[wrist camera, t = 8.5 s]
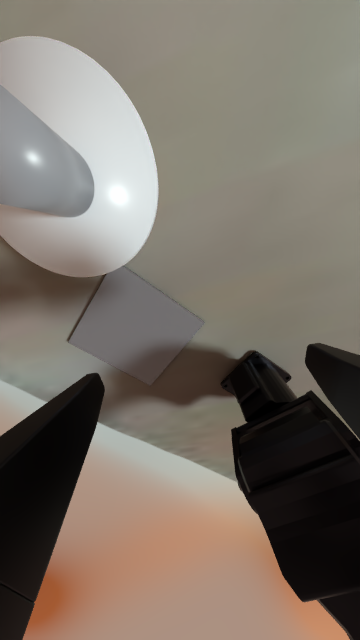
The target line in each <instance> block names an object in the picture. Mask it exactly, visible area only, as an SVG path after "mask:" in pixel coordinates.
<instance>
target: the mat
mask: <svg viewBox="0 0 360 640" xmlns="http://www.w3.org/2000/svg"><path fill="white" fill-rule="evenodd" d="M204 323H205V322H204V321H203V320H202V319H200V318H199V317H197V316H196V315H194V314H193V313H191V312H190V311H189V310H187V309H186V308H184V307H183V306H181V305H180V304H178V303H177V302H176V301H174V300H173V299H171V298H170V297H168V296H167V295H165V294H164V293H163V292H161V291H160V290H158V289H157V288H155V287H154V286H152V285H151V284H150V283H148V282H147V281H145V280H144V279H142V278H141V277H139V276H138V275H137V274H135V273H134V272H132V271H131V270H129V269H128V268H126V267H125V266H124V265H123V266H121V267H120V268H118V269H116V270H114V271H112V272H109V273H107V274H106V276H105V278H104V280H103V282H102V283H101V285H100V287H99V289H98V290H97V292H96V294H95V296H94V297H93V299H92V301H91V303H90V305H89V306H88V308H87V310H86V312H85V313H84V315H83V317H82V319H81V320H80V322H79V324H78V326H77V328H76V329H75V331H74V333H73V335H72V336H71V338H70V340H69V342H68V343H70V344H72V345H74V346H76V347H78V348H79V349H81V350H83V351H85V352H87V353H89V354H91V355H93V356H95V357H97V358H98V359H100V360H102V361H104V362H106V363H108V364H110V365H112V366H114V367H116V368H117V369H119V370H121V371H123V372H125V373H127V374H129V375H131V376H133V377H135V378H136V379H138V380H140V381H142V382H144V383H146V384H148V385H150V386H151V384H152V383H153V382H154V381H155V380H156V379H157V377H158V376H159V375H160V374H161V373H162V372H163V371H164V369H165V368H166V367H167V366H168V365H169V364H170V362H171V361H172V360H173V359H174V358H175V357H176V356H177V354H178V353H179V352H180V351H181V350H182V349H183V347H184V346H185V345H186V344H187V343H188V342H189V341H190V339H191V338H192V337H193V336H194V335H195V334H196V332H197V331H198V330H199V329H200V328H201V327H202V326H203V324H204Z"/></svg>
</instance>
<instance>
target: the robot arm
mask: <svg viewBox="0 0 360 640" xmlns="http://www.w3.org/2000/svg"><path fill="white" fill-rule="evenodd" d="M256 355H257V356H256ZM255 356H256V357H255ZM305 364H306V366H307V368H308V369H309V371H310V372H311V374H312V376H313V377H314V379H315V380H316V382H317V383H318V385H319V386H320V388H321V389H322V391H323V393H324V394H325V395H326V397H327V398H328V400H329V401H330V402H331V404H332V405H333V406H334V408H335V409H336V410H337V411H338V413H339V414H340V415H341V416H342V418H343V419H344V420H345V421H346V423H347V424H348V425H349V427H350V428H351V429H352V430H353V432H354V433H355V434H356V435H357V437H358V438H359V439H360V355H357V354H354V353H351V352H347V351H344V350H341V349H338V348H334V347H331V346H328V345H325V344H321V343H315V344H309V345H308V346H307V351H306V357H305ZM290 379H291V376H290V374H289V373H287V372H286V371H285V370H283V369H282V368H280V367H279V366H277V365H276V364H275V363H273V362H272V361H270V360H269V359H268V358H266V357H265V356H263V355H262V354H260V353H259V352H253V353H252V354H251V355H250V356H249V357H248V358H247V359H246V360H245V361H244V362H242V363H241V364H240V365H239V366H238V367H237V368H236V369H235V370H234V371H233V372H232V373H231V374H230V375H229V376H228V377H227V378H226V379H225V380H223V381H222V383H221V386H222V388H223V389H225V390H227V391H228V392H230V393H232V394H233V395H235V396H236V398H237V401H238V403H239V405H240V407H241V410H242V413H243V415H244V418H245V421H247V423H246V424H244V425H242V426H240V427H238V428H236V427H235V428H233V429H231V433H232V446H233V455H234V465H235V474H236V478H237V480H238V486H239V488H240V490H241V491H242V492H243V493H244V495H245V497H246V499H247V501H248V503H249V505H250V506H251V508H252V509H253V510H254V511H255V512H256V513H257V514H258V515H259V517H260V520H261V522H262V524H263V526H264V528H265V530H266V533H267V536H268V538H269V540H270V543H271V546H272V548H273V551H274V554H275V557H276V559H277V562H278V565H279V567H280V570H281V572H282V575H283V576H284V578H285V579H286V581H287V582H288V584H289V585H290V586H291V588H292V589H293V590H294V592H295V593H296V595H297V596H298V597H299V599H300V600H301V601H302V602H308V601H313V600H317V601H318V602H319V603H320V604H321V605H322V606H323V607H324V608H325V610H326V611H327V612H328V613H329V614H330V615H331V616H332V617H333V618H334V619H335V620H336V621H337V623H338V624H339V625H340V626H341V627H342V628H343V629H344V630H345V632H346V633H347V635H348V636H349V639H350V640H360V441H359V440H358V439H357V438H356V436H355V435H354V434H353V433H352V432H351V431H350V430H349V428H348V427H347V426H346V425H345V424H344V423H343V422H342V421H341V420H340V419H339V418H338V417H337V416H336V415H335V414H334V413H333V412H332V411H331V410H330V409H329V408H328V407H327V406H326V405H325V404H324V403H323V402H322V401H321V400H320V399H319V398H318V397H317V396H316V395H315V394H314V393H313V392H312V391H309V392H307V393H306V394H305V395H303V396H301V397H299V398H297V397H296V396H295V394H294V393H293V392H292V390H291V389H290V388H289V386H288V385H287V384H286V383H287V382H288V381H289V380H290ZM225 384H226V385H225ZM104 392H105V388H104V385H103V382H102V380H101V378H100V375H99V374H98V373H91V374H87V375H86V376H84V377H83V378H81V379H80V380H79V381H77V382H76V383H74V384H73V385H72V386H70V387H69V388H67V389H66V390H65V391H63V392H62V393H60V394H59V395H58V396H56V397H55V398H53V399H52V400H50V401H49V402H48V403H46V404H45V405H44V406H42V407H41V408H39V409H38V410H36V411H35V412H34V413H32V414H31V415H30V416H28V417H27V418H25V419H24V420H23V421H21V422H20V423H18V424H17V425H16V426H14V427H13V428H11V429H10V430H8V431H7V432H6V433H4V434H3V435H2V436H0V640H22V639H23V636H24V634H25V631H26V628H27V625H28V622H29V619H30V616H31V613H32V611H33V608H34V605H35V603H34V602H35V601H36V598H37V595H38V593H39V590H40V587H41V584H42V581H43V578H44V575H45V572H46V570H47V567H48V564H49V561H50V558H51V555H52V552H53V549H54V547H55V544H56V541H57V538H58V535H59V532H60V529H61V526H62V524H63V520H64V518H65V515H66V512H67V509H68V506H69V503H70V501H71V498H72V495H73V491H74V489H75V486H76V483H77V480H78V477H79V475H80V472H81V469H82V466H83V463H84V460H85V457H86V455H87V452H88V449H89V446H90V443H91V440H92V437H93V434H94V431H95V428H96V425H97V421H98V417H99V413H100V409H101V405H102V401H103V396H104Z"/></svg>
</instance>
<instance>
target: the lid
mask: <svg viewBox="0 0 360 640" xmlns="http://www.w3.org/2000/svg"><path fill="white" fill-rule="evenodd" d="M158 199H159V183H158V174H157V167H156V163H155V158H154V154H153V150H152V147H151V144H150V141H149V138H148V135H147V132H146V130H145V127H144V125H143V123H142V121H141V118H140V116H139V114H138V113H137V111H136V109H135V107H134V106H133V104H132V102H131V100H130V99H129V98H128V96H127V95H126V93H125V92H124V91H123V89H122V88H121V86H120V85H119V84H118V83H117V82H116V81H115V80H114V79H113V77H112V76H111V75H110V74H109V73H108V72H107V71H106V70H105V69H104V68H103V67H101V66H100V65H99V64H98V63H97V62H96V61H94V60H93V59H92V58H90V57H89V56H87V55H86V54H84V53H83V52H81V51H80V50H78V49H76V48H74V47H72V46H70V45H68V44H65V43H63V42H61V41H57V40H54V39H50V38H46V37H37V36H24V37H15V38H12V39H9V40H6V41H3V42H0V236H1V237H2V238H3V239H4V240H5V241H6V242H7V243H8V244H9V245H10V246H11V247H13V248H14V249H15V250H16V251H17V252H19V253H20V254H21V255H23V256H24V257H25V258H27V259H28V260H30V261H31V262H33V263H35V264H37V265H39V266H40V267H42V268H45V269H47V270H49V271H52V272H55V273H58V274H62V275H66V276H72V277H95V276H99V275H104V274H106V273H109V272H112V271H114V270H116V269H118V268H120V267H121V266H123V265H125V264H126V263H128V262H129V261H130V260H131V259H133V258H134V257H135V256H136V254H137V253H138V252H139V251H140V250H141V249H142V247H143V246H144V244H145V243H146V241H147V239H148V237H149V235H150V233H151V231H152V228H153V225H154V222H155V218H156V214H157V208H158Z"/></svg>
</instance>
